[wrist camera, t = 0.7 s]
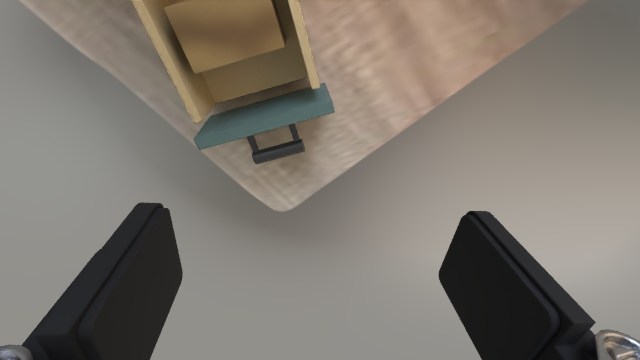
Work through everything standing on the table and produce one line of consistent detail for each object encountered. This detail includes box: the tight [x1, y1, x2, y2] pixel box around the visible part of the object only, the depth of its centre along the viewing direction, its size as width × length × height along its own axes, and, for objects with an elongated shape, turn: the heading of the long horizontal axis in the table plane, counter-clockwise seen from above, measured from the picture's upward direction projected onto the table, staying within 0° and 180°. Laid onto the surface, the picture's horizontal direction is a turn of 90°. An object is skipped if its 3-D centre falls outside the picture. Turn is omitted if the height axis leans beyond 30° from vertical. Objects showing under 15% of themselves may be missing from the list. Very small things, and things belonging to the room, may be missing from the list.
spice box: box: [164, 0, 286, 74], centre depth 25 cm, size 5×8×6 cm, turn 105°
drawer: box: [131, 0, 335, 164], centre depth 27 cm, size 21×13×7 cm, turn 15°
